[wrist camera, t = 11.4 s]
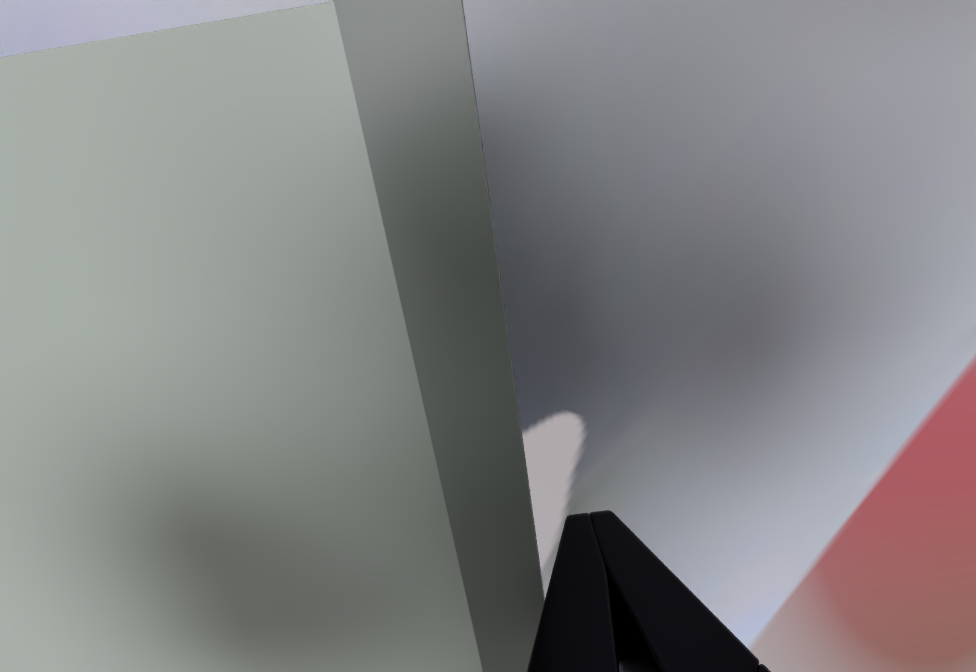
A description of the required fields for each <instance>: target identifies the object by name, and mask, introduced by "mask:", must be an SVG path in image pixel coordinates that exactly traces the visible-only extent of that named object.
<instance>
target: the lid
mask: <svg viewBox="0 0 976 672" xmlns="http://www.w3.org/2000/svg"><path fill="white" fill-rule="evenodd" d="M544 602H545V598H544V590H543V583H542V576H541V568H540V561H539V554H538V547H537V540H536V532H535V525H534V518H533V511H532V503H531V496H530V489H529V481H528V474H527V467H526V459H525V452H524V445H523V438H522V430H521V423H520V416H519V409H518V401H517V394H516V387H515V379H514V372H513V365H512V358H511V350H510V343H509V336H508V329H507V321H506V314H505V307H504V300H503V292H502V285H501V278H500V270H499V263H498V256H497V249H496V241H495V234H494V227H493V220H492V212H491V205H490V198H489V191H488V183H487V176H486V169H485V161H484V154H483V147H482V140H481V132H480V125H479V118H478V111H477V103H476V96H475V89H474V82H473V74H472V67H471V60H470V52H469V45H468V38H467V31H466V23H465V16H464V9H463V2H462V0H333V1H332V2H326V3H320V4H314V5H309V6H303V7H297V8H291V9H285V10H279V11H273V12H267V13H261V14H255V15H249V16H243V17H237V18H232V19H226V20H220V21H214V22H208V23H202V24H196V25H190V26H184V27H178V28H172V29H166V30H160V31H154V32H149V33H143V34H137V35H131V36H125V37H119V38H113V39H107V40H101V41H95V42H89V43H83V44H77V45H72V46H66V47H60V48H54V49H48V50H42V51H36V52H30V53H24V54H18V55H12V56H6V57H0V672H527V668H528V664H529V660H530V657H531V653H532V649H533V645H534V641H535V637H536V633H537V629H538V625H539V622H540V618H541V614H542V610H543V606H544Z"/></svg>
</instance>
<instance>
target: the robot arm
mask: <svg viewBox="0 0 976 672" xmlns="http://www.w3.org/2000/svg"><path fill="white" fill-rule="evenodd" d="M527 672H771V671H769V670H768V668H767V667H766V666H765V665H763V664H760V665H759V660H758V659H757V658H756V657H755V656H754V655H753V654H752V653H751V652H750V650H749V649H748V648H747V647H746V646H745V645H744V644H743V643H742V642H741V641H740V640H739V639H738V638H737V637H736V636H735V635H734V634H733V633H732V632H731V631H730V630H729V629H728V628H727V627H726V626H725V625H724V624H723V623H722V622H721V621H720V620H719V619H718V618H717V617H716V616H715V615H714V614H713V613H712V612H711V611H710V610H709V609H708V608H707V607H706V606H705V605H704V604H703V603H702V602H701V601H700V600H699V599H698V598H697V597H696V596H695V595H694V594H693V593H692V592H691V591H690V590H689V589H688V588H687V587H686V586H685V585H684V584H683V583H682V582H681V581H680V580H679V579H678V578H677V577H676V576H675V575H674V574H673V573H672V572H671V571H670V570H669V569H668V568H667V567H666V566H665V564H664V563H663V562H662V561H661V560H660V559H659V558H658V557H657V556H656V555H655V554H654V553H653V552H652V551H651V550H650V549H649V548H648V547H647V546H646V545H645V544H644V543H643V542H642V541H641V540H640V539H639V538H638V537H637V536H636V535H635V534H634V533H633V532H632V531H631V530H630V529H629V528H628V527H627V526H626V525H625V524H624V523H623V522H622V521H621V520H620V519H619V518H618V517H617V516H616V515H615V514H614V513H613V512H612V511H609V510H606V511H598V512H591V513H590V514H588V513H582V514H574V515H569V516H567V518H566V521H565V524H564V528H563V532H562V536H561V540H560V544H559V548H558V552H557V556H556V559H555V563H554V567H553V571H552V575H551V579H550V583H549V587H548V591H547V594H546V598H545V602H544V606H543V610H542V614H541V618H540V622H539V625H538V629H537V633H536V637H535V641H534V645H533V649H532V653H531V657H530V660H529V664H528V668H527Z"/></svg>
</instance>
